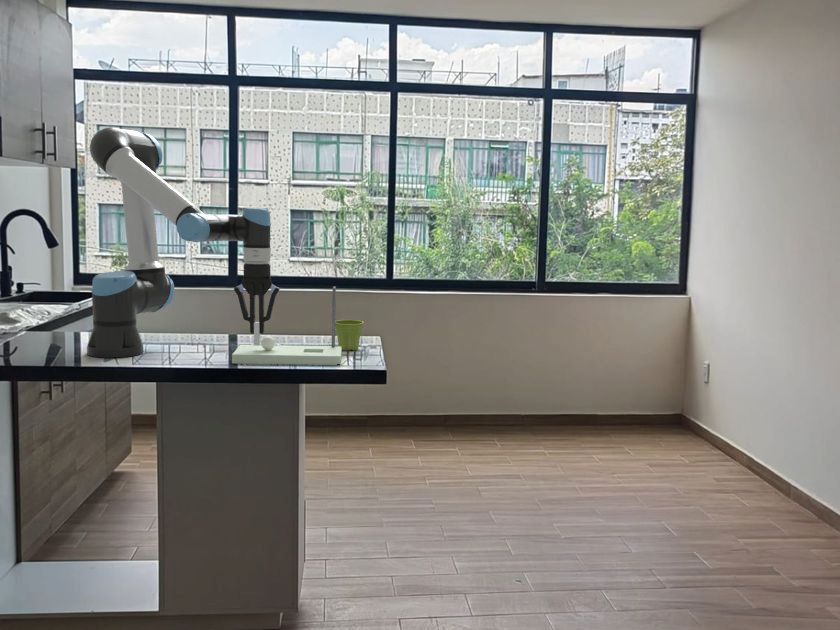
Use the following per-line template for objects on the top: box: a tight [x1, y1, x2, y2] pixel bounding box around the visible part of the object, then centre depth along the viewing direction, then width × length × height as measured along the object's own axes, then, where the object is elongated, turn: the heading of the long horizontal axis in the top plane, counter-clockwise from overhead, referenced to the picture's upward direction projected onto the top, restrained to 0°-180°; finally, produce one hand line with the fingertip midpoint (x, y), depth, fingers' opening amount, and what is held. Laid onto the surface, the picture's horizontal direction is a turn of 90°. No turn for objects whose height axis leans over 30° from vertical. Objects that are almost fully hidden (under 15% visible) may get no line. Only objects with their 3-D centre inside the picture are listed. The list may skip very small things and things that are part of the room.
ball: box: [260, 335, 276, 350], centre depth 221 cm, size 4×4×4 cm
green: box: [231, 286, 343, 366], centre depth 222 cm, size 30×20×20 cm, turn 95°
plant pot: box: [335, 319, 364, 351], centre depth 240 cm, size 9×9×9 cm
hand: (257, 344), depth 220 cm, fingers closed
